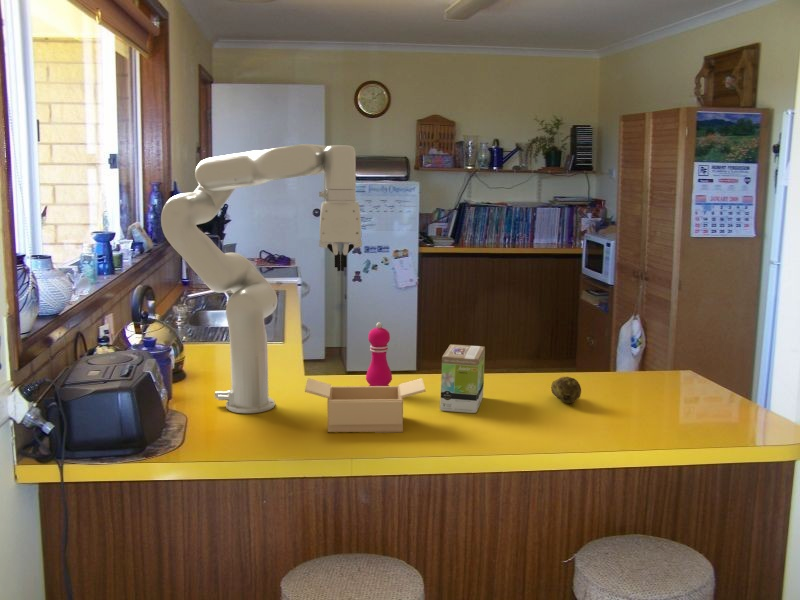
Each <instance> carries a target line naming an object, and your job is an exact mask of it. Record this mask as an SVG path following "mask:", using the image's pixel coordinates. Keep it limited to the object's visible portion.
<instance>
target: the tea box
mask: <svg viewBox="0 0 800 600" xmlns="http://www.w3.org/2000/svg"><path fill="white" fill-rule="evenodd" d="M485 355H486V347H485V346H482V345H481V346H480V345H468V344H466V345H465V344H449V346H448V348H447V349H446V350H445V352H444V353H443V355H442V357H441V377H440V381H441V384H440V400H439V403H440V404H439V411H444V412H453V413H454V412H456V413H468V414H469V413H470V414H476V413H477V412H478V410H479V407H480V404H481V403H482V400H483V398H484V384H485V383H484V382H485V380H484V379H485V361H486V360H485V358H486V356H485Z"/></svg>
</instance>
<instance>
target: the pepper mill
mask: <svg viewBox="0 0 800 600" xmlns="http://www.w3.org/2000/svg"><path fill="white" fill-rule="evenodd" d="M367 340H368V342H369V343H370V344H369V345H370V346H369V348H370V349H369V351H370V352H371V360H370V364H369V366H368V369H367V372H366V374H365V375H366V376H365V380H366V382H367V383H368V386H390V385H389V384H390V383H391V382H392V381H393V375H392V371H391V369H390V366H389V364H388V360H387V351H389V345H388V344H389V342H390V340H391V334H390V331H388V330H387V329H386V328H384V327H383V323H382V322H380V321H378V322H377V323H376V324H375V328H372V329H371V330H370V331H369V333H368V336H367Z"/></svg>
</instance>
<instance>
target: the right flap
mask: <svg viewBox="0 0 800 600" xmlns="http://www.w3.org/2000/svg"><path fill="white" fill-rule="evenodd" d="M398 386H399V387H400V393H401V398H403V399H405V398H406V397H407V398H408V397H410V396H411V397H412V396H414V395H419V394H422V393H426V388H425V383H424V379H423V377H420V378H418V379H414V380H410V381H406V382H402V383H399V384H398Z"/></svg>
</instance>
